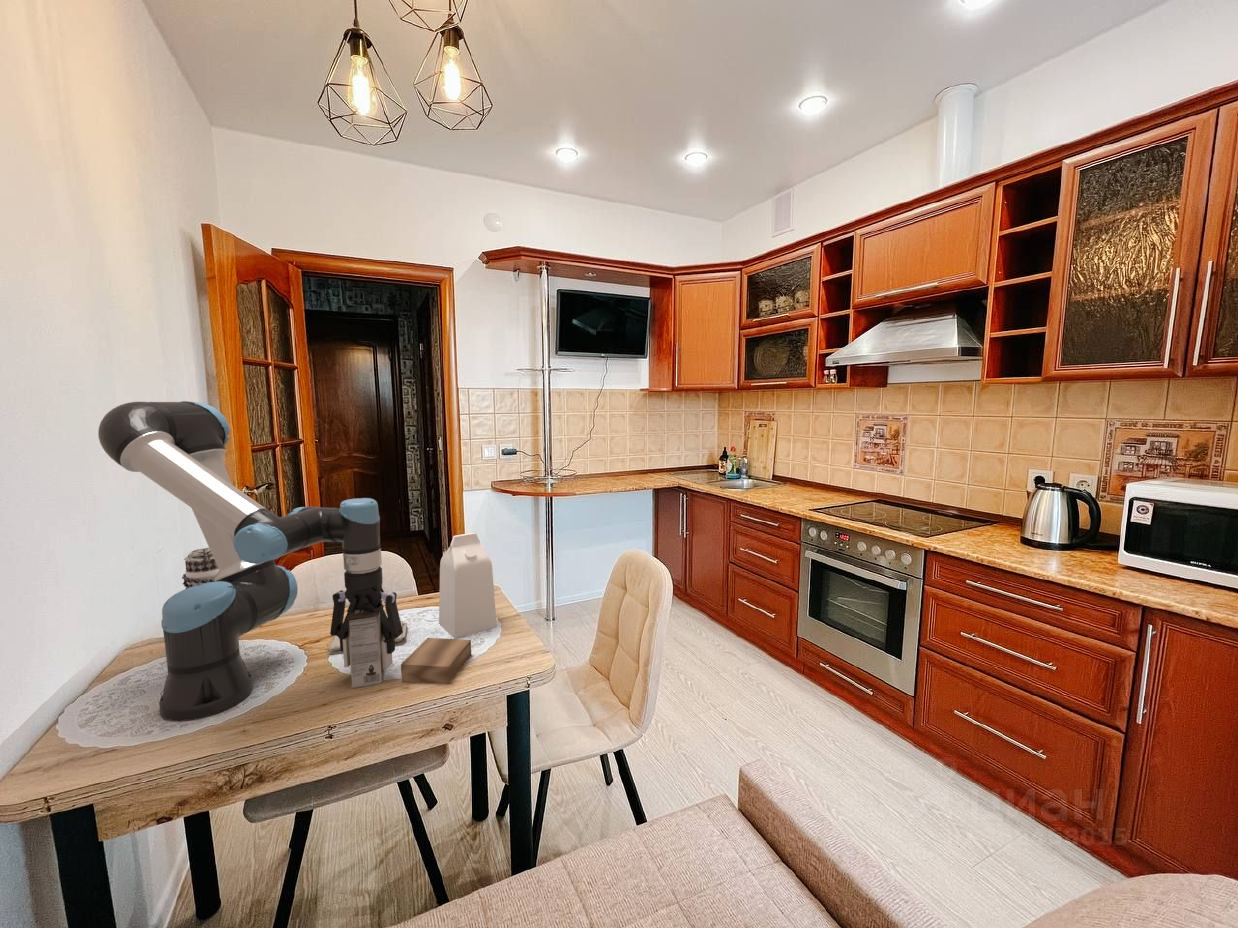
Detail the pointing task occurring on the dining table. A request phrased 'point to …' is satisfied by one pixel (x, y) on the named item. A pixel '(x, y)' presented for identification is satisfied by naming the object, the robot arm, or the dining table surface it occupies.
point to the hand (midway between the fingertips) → (368, 665)
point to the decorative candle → (200, 568)
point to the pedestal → (436, 661)
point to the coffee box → (365, 647)
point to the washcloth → (335, 649)
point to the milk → (466, 588)
